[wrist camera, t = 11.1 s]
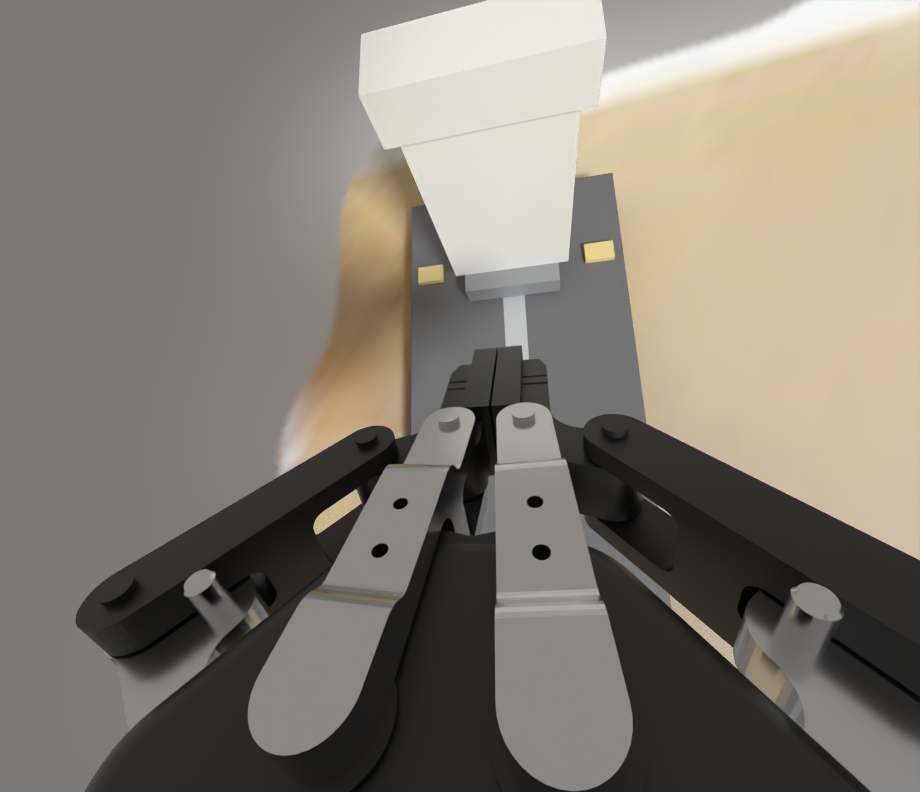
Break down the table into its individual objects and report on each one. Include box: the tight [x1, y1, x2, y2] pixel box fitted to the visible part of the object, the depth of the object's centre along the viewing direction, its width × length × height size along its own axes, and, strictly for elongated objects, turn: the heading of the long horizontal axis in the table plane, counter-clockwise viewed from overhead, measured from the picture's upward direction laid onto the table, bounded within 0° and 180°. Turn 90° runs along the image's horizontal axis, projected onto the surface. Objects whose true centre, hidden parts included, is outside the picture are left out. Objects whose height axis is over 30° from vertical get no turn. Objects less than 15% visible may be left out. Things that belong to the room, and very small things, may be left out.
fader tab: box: [359, 0, 607, 302], centre depth 17 cm, size 7×4×12 cm, turn 91°
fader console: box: [411, 173, 671, 608], centre depth 22 cm, size 12×30×2 cm, turn 1°
